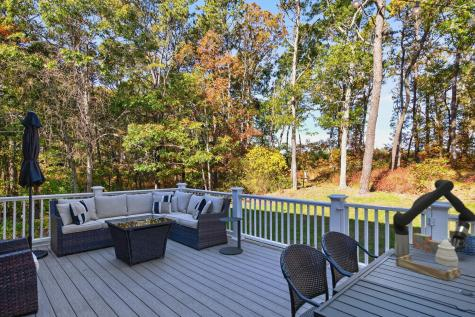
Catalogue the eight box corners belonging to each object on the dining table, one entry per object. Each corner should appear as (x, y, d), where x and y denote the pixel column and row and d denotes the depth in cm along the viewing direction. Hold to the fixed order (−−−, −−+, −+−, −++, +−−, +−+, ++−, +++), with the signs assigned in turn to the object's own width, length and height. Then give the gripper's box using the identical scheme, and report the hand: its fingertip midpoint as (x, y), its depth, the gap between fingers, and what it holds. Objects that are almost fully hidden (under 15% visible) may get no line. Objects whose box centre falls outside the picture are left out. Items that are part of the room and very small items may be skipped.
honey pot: (450, 260, 200) (449, 235, 200) (463, 266, 187) (461, 240, 188) (431, 260, 201) (430, 235, 202) (443, 266, 188) (442, 240, 189)
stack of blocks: (444, 254, 215) (443, 238, 216) (438, 255, 213) (438, 239, 214) (417, 247, 235) (417, 232, 236) (412, 247, 233) (412, 233, 234)
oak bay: (409, 261, 198) (409, 254, 198) (460, 275, 171) (460, 267, 171) (396, 265, 190) (396, 258, 190) (447, 281, 163) (447, 272, 163)
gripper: (448, 229, 210) (441, 247, 204) (469, 232, 199) (462, 251, 192) (452, 235, 213) (445, 253, 206) (473, 238, 201) (466, 258, 195)
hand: (453, 252), depth 199 cm, fingers closed
